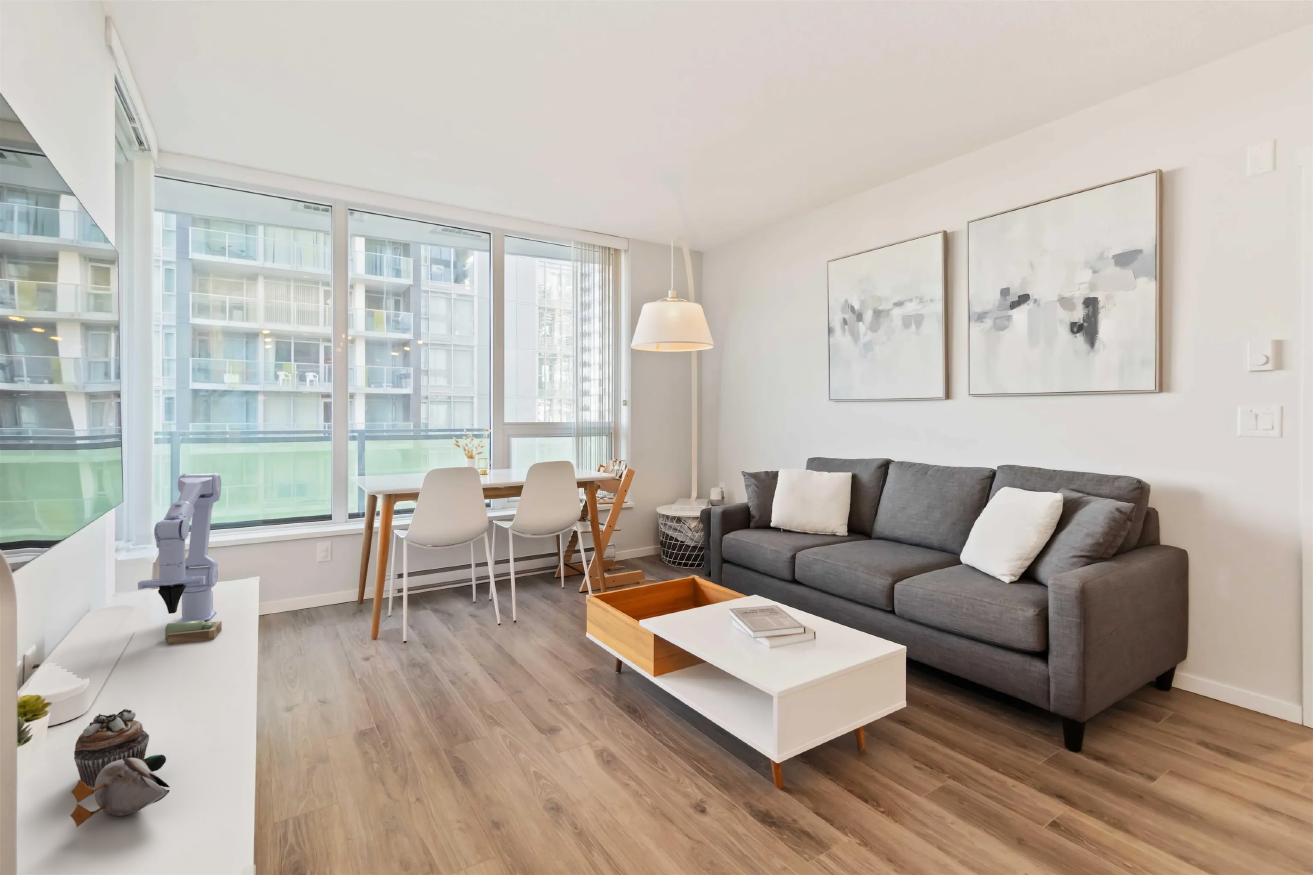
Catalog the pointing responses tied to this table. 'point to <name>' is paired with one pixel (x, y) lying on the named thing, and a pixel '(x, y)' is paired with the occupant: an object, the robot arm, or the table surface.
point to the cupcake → (109, 743)
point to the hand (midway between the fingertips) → (172, 612)
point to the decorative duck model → (123, 788)
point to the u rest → (196, 634)
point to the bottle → (186, 627)
